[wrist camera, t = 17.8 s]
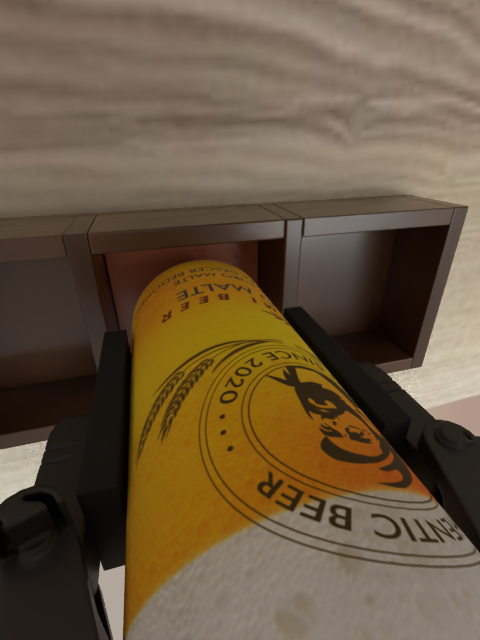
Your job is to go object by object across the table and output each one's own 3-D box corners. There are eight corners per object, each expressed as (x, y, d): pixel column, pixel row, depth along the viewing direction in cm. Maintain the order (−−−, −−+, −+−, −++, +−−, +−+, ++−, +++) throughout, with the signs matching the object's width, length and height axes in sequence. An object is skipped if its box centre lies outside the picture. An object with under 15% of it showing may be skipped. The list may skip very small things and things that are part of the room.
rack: (409, 194, 19) (469, 206, 16) (379, 334, 23) (421, 366, 20) (-151, 226, 13) (-250, 257, 10) (-53, 405, 17) (-99, 469, 14)
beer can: (279, 274, 16) (826, 790, 3) (235, 377, 18) (464, 932, 5) (152, 236, 14) (350, 1470, 1) (118, 358, 16) (41, 1253, 3)
